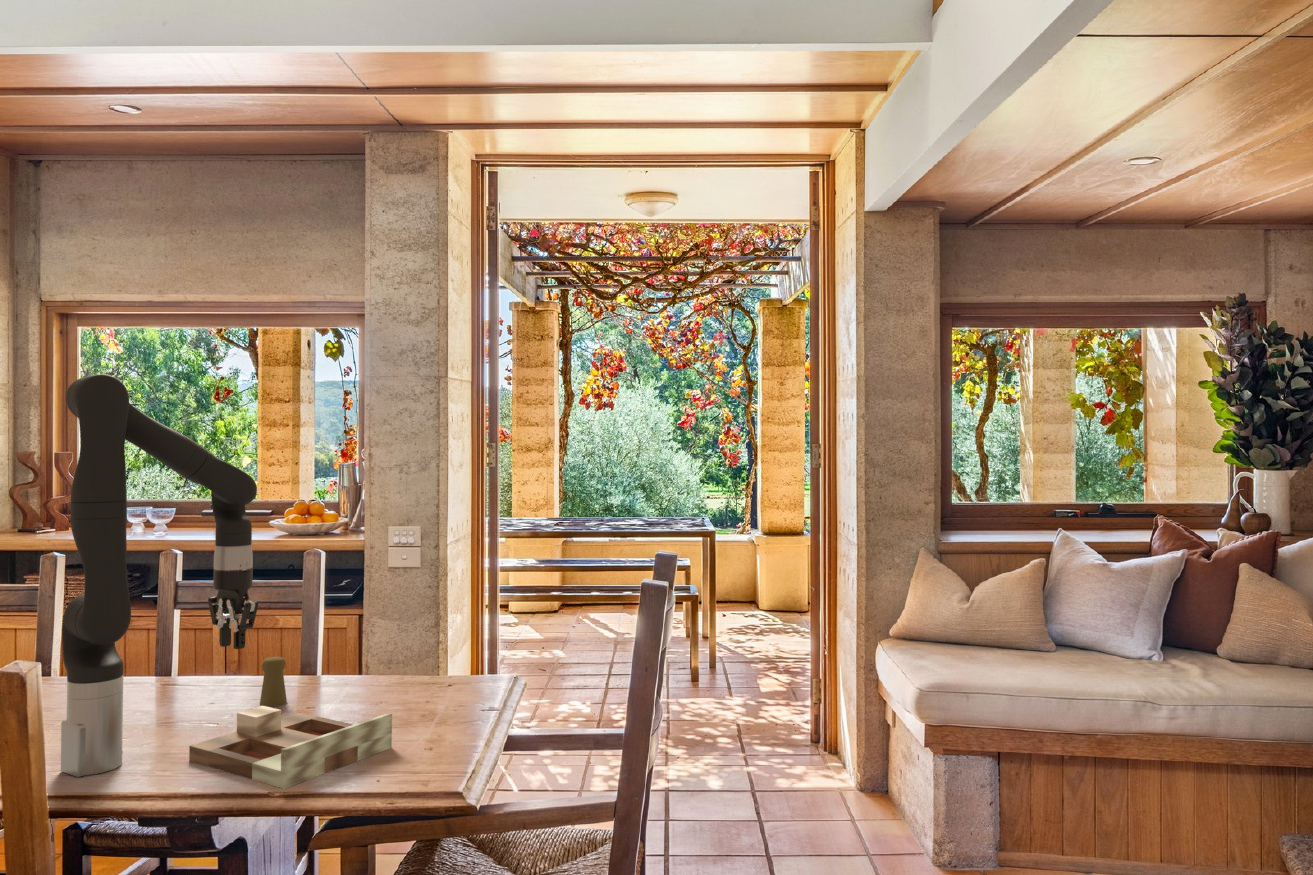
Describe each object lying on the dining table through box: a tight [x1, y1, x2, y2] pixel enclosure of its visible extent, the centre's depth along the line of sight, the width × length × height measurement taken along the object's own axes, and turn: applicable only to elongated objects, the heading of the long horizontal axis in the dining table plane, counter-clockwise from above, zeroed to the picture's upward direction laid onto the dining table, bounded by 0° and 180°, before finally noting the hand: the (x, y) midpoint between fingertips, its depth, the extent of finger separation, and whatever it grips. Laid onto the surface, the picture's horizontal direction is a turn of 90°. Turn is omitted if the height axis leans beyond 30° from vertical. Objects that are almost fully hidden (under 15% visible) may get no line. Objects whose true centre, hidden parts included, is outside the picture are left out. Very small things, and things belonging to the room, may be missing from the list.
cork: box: [259, 656, 288, 708], centre depth 218 cm, size 6×6×11 cm
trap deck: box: [188, 712, 393, 790], centre depth 182 cm, size 26×28×7 cm
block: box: [236, 705, 282, 737], centre depth 188 cm, size 6×6×4 cm
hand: (232, 647), depth 192 cm, fingers open, 4 cm apart
